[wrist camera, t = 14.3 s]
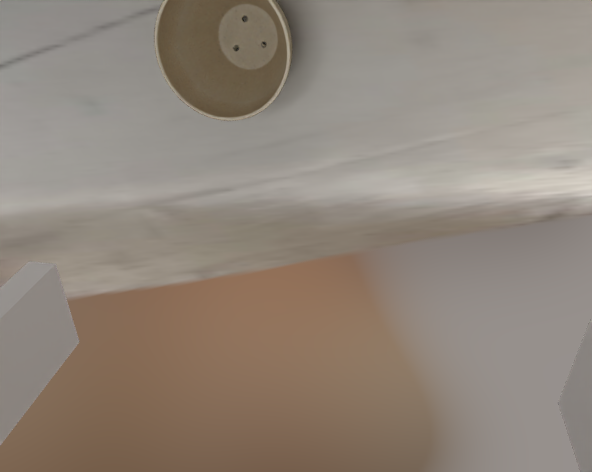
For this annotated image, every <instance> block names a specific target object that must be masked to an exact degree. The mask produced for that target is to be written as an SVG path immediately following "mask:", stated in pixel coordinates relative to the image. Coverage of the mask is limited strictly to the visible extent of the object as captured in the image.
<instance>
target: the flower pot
mask: <svg viewBox="0 0 592 472" xmlns="http://www.w3.org/2000/svg"><path fill="white" fill-rule="evenodd" d="M243 17H244V18H245V22H244V21H243ZM263 42H265V43H266V44H264V43H263ZM154 44H155V52H156V57H157V61H158V64H159V67H160V70H161V72H162V74H163V76H164V78H165V80H166V82H167V83H168V85H169V86H170V88H171V89H172V91H173V92H174V93H175V94H176V95H177V96H178V98H179V99H180V100H181V101H183V102H184V103H185V104H186V105H187V106H189V107H190V108H192V109H193V110H195V111H196V112H198V113H200V114H202V115H205V116H207V117H210V118H213V119H218V120H224V121H234V120H241V119H245V118H249V117H251V116H254V115H256V114H258V113H260V112H261V111H263V110H264V109H265V108H267V107H268V106H269V105H270V104H271V103H272V102H273V101H274V100H275V98H276V97H277V96H278V94H279V93H280V91H281V90H282V88H283V86H284V84H285V82H286V79H287V77H288V74H289V70H290V66H291V60H292V38H291V32H290V28H289V25H288V22H287V19H286V17H285V15H284V13H283V11H282V9H281V8H280V6H279V4H278V3H277V2H276V0H164V1H163V3H162V5H161V7H160V9H159V12H158V15H157V19H156V24H155V31H154ZM237 48H239V49H238V50H237V51H236V49H237Z"/></svg>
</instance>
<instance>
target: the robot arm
mask: <svg viewBox="0 0 592 472" xmlns="http://www.w3.org/2000/svg"><path fill="white" fill-rule="evenodd" d="M78 343H79V339H78V336H77V333H76V329H75V326H74V323H73V319H72V316H71V313H70V309H69V306H68V303H67V299H66V296H65V293H64V289H63V286H62V283H61V280H60V276H59V273H58V270H57V266H56V264H52V263H42V262H32V261H29V262H28V263H27V264H26V265H25V266H24V267H22V268H21V269H20V270H19V271H18V272H17V273H16V274H15V275H14V276H13V277H11V278H10V279H9V280H8V281H7V282H6V283H5V284H4V285H3V286H2V287H1V288H0V445H1V444H2V442H3V441H4V440H5V438H6V437H7V436H8V435H9V433H10V432H11V431H12V429H13V428H14V427H15V425H16V424H17V423H18V421H19V420H20V419H21V418H22V416H23V415H24V414H25V412H26V411H27V409H28V408H29V407H30V406H31V405H32V403H33V402H34V401H35V399H36V398H37V396H38V395H39V394H40V393H41V391H42V390H43V389H44V388H45V386H46V385H47V384H48V382H49V381H50V379H51V378H52V377H53V376H54V374H55V373H56V372H57V371H58V369H59V368H60V367H61V365H62V364H63V363H64V361H65V360H66V359H67V357H68V356H69V355H70V353H71V352H72V351H73V350H74V348H75V347H76V346H77V344H78ZM558 405H559V408H560V411H561V414H562V417H563V420H564V423H565V426H566V429H567V433H568V435H569V439H570V441H571V445H572V448H573V451H574V454H575V457H576V460H577V463H578V466H579V470H580V472H592V320H590V322H589V324H588V327H587V330H586V332H585V334H584V337H583V340H582V343H581V345H580V347H579V350H578V353H577V355H576V358H575V360H574V363H573V365H572V368H571V371H570V373H569V376H568V379H567V381H566V384H565V386H564V389H563V391H562V394H561V396H560V399H559V402H558Z"/></svg>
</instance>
